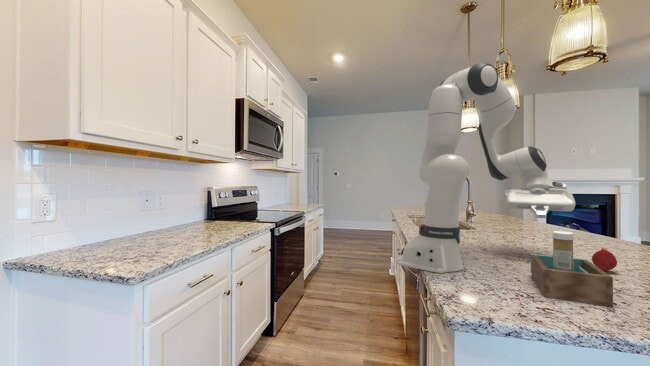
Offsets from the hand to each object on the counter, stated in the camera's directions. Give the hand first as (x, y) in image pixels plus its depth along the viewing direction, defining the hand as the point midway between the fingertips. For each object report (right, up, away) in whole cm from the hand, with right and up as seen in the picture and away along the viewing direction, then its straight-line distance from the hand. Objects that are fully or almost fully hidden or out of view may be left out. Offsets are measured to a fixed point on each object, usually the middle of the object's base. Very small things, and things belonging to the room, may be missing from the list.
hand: (541, 217), depth 97 cm
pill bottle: (-10, -15, -20) cm, 27 cm away
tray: (-10, -16, -20) cm, 28 cm away
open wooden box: (-11, -17, -23) cm, 31 cm away
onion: (+15, -17, -7) cm, 24 cm away
